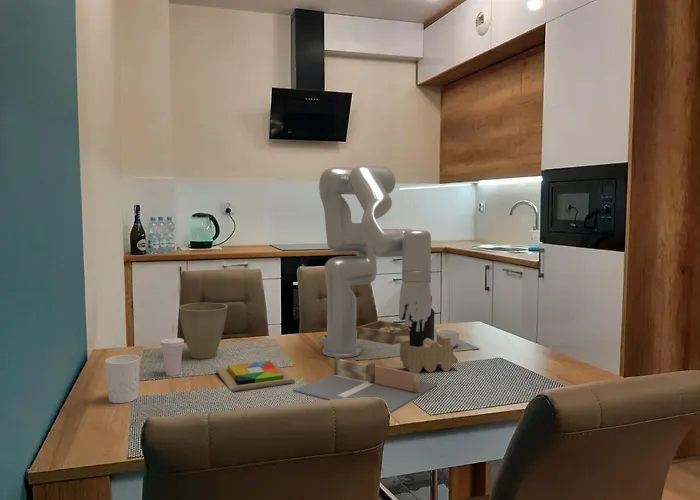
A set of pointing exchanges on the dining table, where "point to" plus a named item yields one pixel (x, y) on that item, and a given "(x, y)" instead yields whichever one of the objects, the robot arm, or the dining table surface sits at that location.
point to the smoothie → (172, 354)
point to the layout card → (361, 390)
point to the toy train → (427, 354)
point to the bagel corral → (382, 332)
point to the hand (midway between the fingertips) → (416, 345)
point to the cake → (389, 329)
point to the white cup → (122, 378)
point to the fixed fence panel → (354, 370)
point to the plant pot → (203, 327)
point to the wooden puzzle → (253, 375)
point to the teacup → (450, 335)
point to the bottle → (429, 326)
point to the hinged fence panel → (397, 378)
